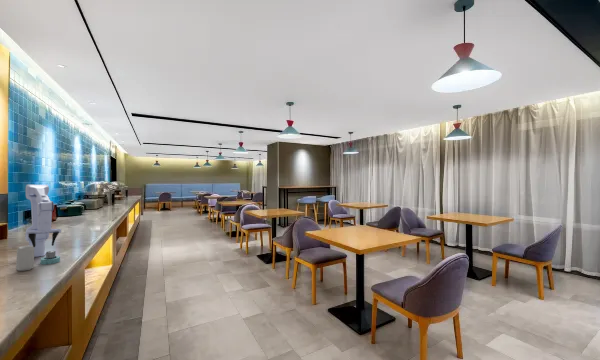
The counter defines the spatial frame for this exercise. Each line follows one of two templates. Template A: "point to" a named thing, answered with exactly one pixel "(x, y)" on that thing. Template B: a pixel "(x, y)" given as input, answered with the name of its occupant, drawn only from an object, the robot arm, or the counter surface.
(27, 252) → the beverage can
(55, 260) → the teal bead ring
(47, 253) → the steel peg
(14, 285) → the counter surface
